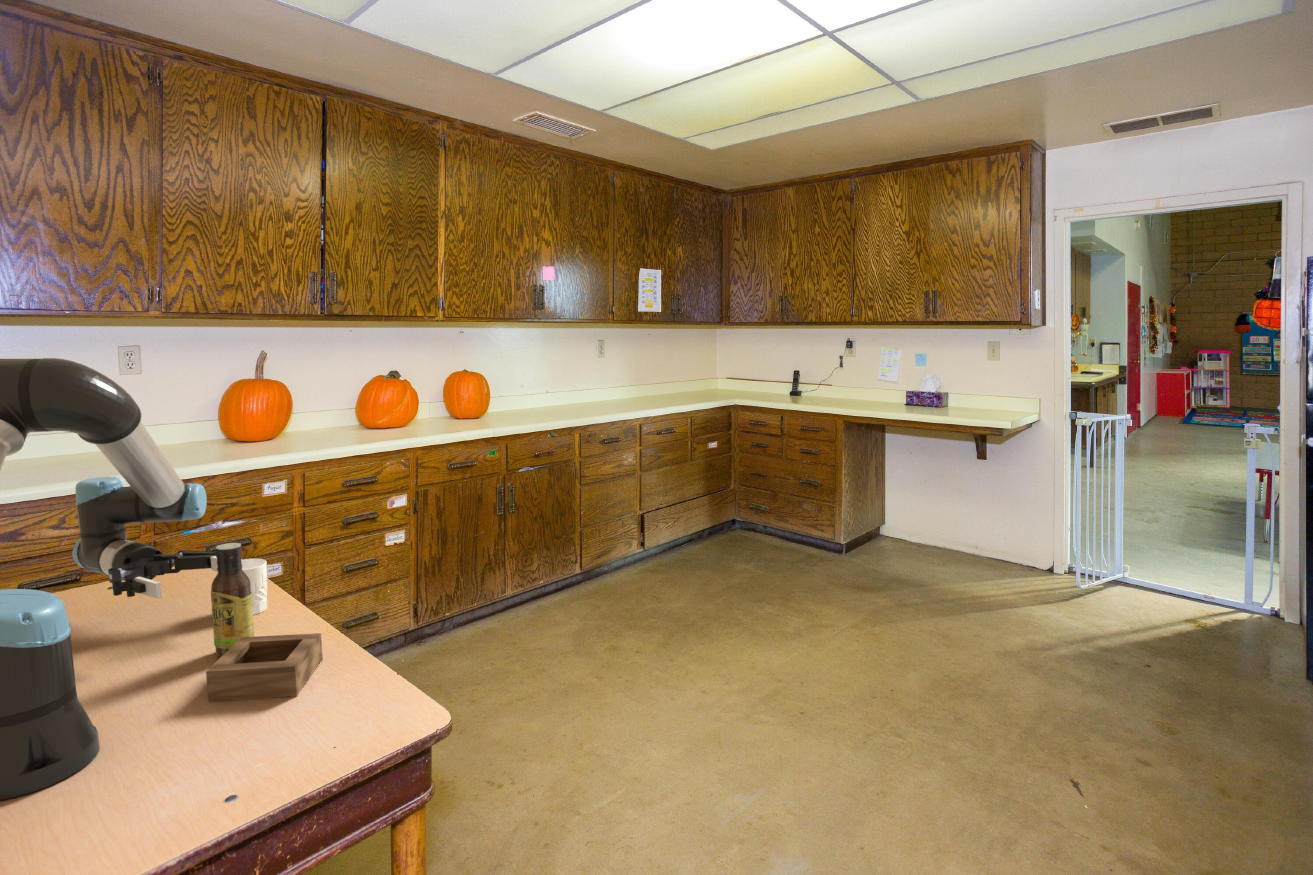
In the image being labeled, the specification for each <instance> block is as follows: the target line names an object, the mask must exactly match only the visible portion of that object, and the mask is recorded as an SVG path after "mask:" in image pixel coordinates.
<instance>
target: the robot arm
mask: <svg viewBox="0 0 1313 875" xmlns="http://www.w3.org/2000/svg"><path fill="white" fill-rule="evenodd" d="M142 417H143V416H142V411H141V408H140V407H139V405H138V404H137V402H136V401H135V399H134V398H133V397H132V396H131V394H129V392H127V390H125V389H124V388H123V387H122V386H121V385H119V384H118V383H117V382H115V381H114V380H112V379H111V378H109V377H108V376H106V375H104V374H103V373H101V372H99V371H98V370H96V369H94V368H92V367H89V366H87V365H85V364H82V363H79V362H76V361H73V360H70V359H64V358H56V357H44V358H0V471H1V470H2V467H3V465H4V462H5V459H6V457H9V456H12V455H14V454H16V453H18V452H19V451H21V450H22V448H23V447H24V444H25V442H26V439H27V436H28V435H29V434H30V433H42V432H43V433H44V432H47V433H48V432H49V433H50V432H68V433H74V434H76V435H78V437H80V439H82V440H83V441H84V442H87V443H88V444H93V445H95V446H96V447H97V448H98V449H99V451H101V452H100V453H102V454H103V455H104V457H105V458H106V459H107V460H108V461H109V463H110V464H111V465H112V466H113V467H114V468H115V470H117V472H118V473H119V474H120V475H121V477H122V478H123V479H124V480H125V481H126V483H127V484H128V485H129V486H124V485H123V483H122V480H121V479H120V477H117V476H100V477H97V476H96V477H92V478H86V479H83V480H80V481H79V482H77V483H76V485H75V503H74V504H75V507H76V514H77V521H78V522H77V523H78V528H79V539H78V540H77V541H76V543H75V544H74V546H73V549H72V553H71V554H72V559H73V562H74V563H75V564H77V566H79V567H80V568H82V569H85V570H86V571H87V572H90V573H95V574H101V575H105V576H108V578H109V579H108V581H109V583H110V584H111V586H112V594H113V596H115V597H117V596H120V595H122V594H123V592H126V596H127V598H132V597H135V596H136V594H140V595H144V596H147V597H150V598H151V597H152V598H155V599H161V598H162V597H163V595H162V588H161V587H162V586H161V582H160V581H156V580H153V579H155V577H157V576H164V575H166V574H167V575H168V574H178V573H180V572H181V571H188V570H189V571H191V570H204V569H211V571H213V572H217V573H218V571H217V567H218V566H217V557H216V554H215V551H198V550H197V551H192V550H191V551H189V550H181V549H180V550H178V551H177V554H165V553H162V551H160V550H159V549H158V548H157V547H156V546H153V545H150V544H146V543H142V542H139V541H138V542H137V541H132V540H128V535H127V534H128V533H127V530H128V529H127V525H129V524H131V525H133V524H145V523H166V522H184V521H192V520H198V519H201V518H202V517H203V516H204V515H205V513H206V510H207V506H208V505H207V504H208V501H207V500H208V499H207V498H208V497H207V492H206V490H205V488H204V486H203V485H202V484H200V483H191V482H188V483H184V481H183V480H182V478H180V476H179V475H178V473H177V472H176V470H175V469H174V467H173V466H172V464H171V463H170V461H169V460H168V459H167V458H166V455H165V454H164V453H163V451H162V449H160V447H159V446H158V444H157V443H156V442H155V441H154V439H153V437H152V436H151V435H150V433H149V431H148V429H147V428H146V427H145V425H144V424H143V423H142ZM173 567H174V568H173ZM71 631H72V627H71V624H70V621H69V618H68V613H67V610H66V605H65V603H64V601H63V600H62V599H61V598H59V597H58V596H56V595H55V594H53V593H51V592H48V591H45V590H44V591H43V590H38V589H30V588H28V589H25V588H9V589H7V588H6V589H5V588H4V589H0V801H3V800H8V799H12V798H16V797H20V796H24V795H27V794H30V793H33V792H36V791H39V790H43V789H45V788H48V787H50V786H52V785H55V784H57V783H58V782H61V781H64V780H65V779H67V778H69V777H71V776H72V775H74V774H76V773H78V772H79V771H81V770H83V769H84V768H85V767H87V766H88V765H89V764H90V763H91V762H92V761H93V760H94V759H95V758H96V757H97V755H98V754H99V752H100V749H101V745H100V738H99V733H98V729H97V728H96V726H95V725H94V724H93V722H92V720H91V718H90V717H89V715H88V713H87V711H86V709H85V708H84V707H83V704H82V703H81V701H80V699H79V698H78V691H77V685H76V674H75V665H74V657H73V647H72V637H71Z"/></svg>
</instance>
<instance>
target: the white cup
mask: <svg viewBox="0 0 1313 875" xmlns="http://www.w3.org/2000/svg"><path fill="white" fill-rule="evenodd" d="M241 564H242V570H243V572H244V573H245V574H246V575H247V576H248V578H249V579H250V586H251V593H252V608H253V616H255V615H259V614H261V613H263V612H264V611H266V609H268V568H267V567H268V565H267V560H266V559H262V558H245V559H241Z"/></svg>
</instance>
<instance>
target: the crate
mask: <svg viewBox="0 0 1313 875" xmlns="http://www.w3.org/2000/svg"><path fill="white" fill-rule="evenodd" d="M322 644H323V643H322V632H318V633H317V632H315V633H300V634H299V633H298V634H295V633H294V634H281V635H279V634H277V635H263V636H261V635H259V636H258V635H257V636H254V637H241V638H240V639H239V640H238V641H237V642H236V643H235V644H234V645H233V646H232V647H231V648H230V649H229V650H228V651H227V652H226V653H225V654H224V655H223V656H222V657H219V659H218V660H216V661H215V662H214V663H213V665H211V666H210V667H209V668H208V669H207V670H206V671H205V673H206V685H207V698H208V702H209V703H210V702H211V703H212V702H225V701H230V702H231V701H244V700H246V701H247V700H258V699H260V700H261V699H274V697H278V698H285V697H284V696H293V697H298V696H299V694H300V693H301V691H302V690H303V689H302V688H304V687H305V686H306V684H307V683H308V682H309V680H310V679H311V677H312V676H313V675H314V673H315V672H316V671H315V670H317V669H318V668H317V667H319V666H320V665H321V664H320V662H321V661H322V660H324V659H323V658H324V657H323V645H322ZM322 662H323V661H322ZM322 662H321V663H322ZM319 664H320V665H319ZM318 665H319V666H318ZM316 668H317V669H316ZM314 671H315V672H314ZM313 672H314V673H313ZM312 674H313V675H312ZM311 675H312V676H311ZM310 676H311V677H310ZM309 678H310V679H309ZM307 681H308V682H307ZM306 682H307V683H306ZM304 685H305V686H304ZM299 692H300V693H299ZM297 695H298V696H297ZM272 697H273V698H272Z"/></svg>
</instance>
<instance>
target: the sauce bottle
mask: <svg viewBox="0 0 1313 875" xmlns="http://www.w3.org/2000/svg"><path fill="white" fill-rule="evenodd" d="M242 548H243V547H242V544H241V543H238V542H227V543H221V544H218V545H217V546H215V548H214V552H215V554H216V557H217V566H218V567H217V571H218V572H217V571H216V572H217V574H216V576H215V577H214V578H213V581H212V582H211V587H210V588H211V589H210V590H211V591H210V599H211V600H210V601H211V612H212V613H211V614H212V615H211V616H212V628H213V629H212V631H213V644H214V646H215V654H216V655H217V656H218V657H219V658H221V657H222V656H223V655H224V654H225V653H226V652H227V651H228V650H229V649H230V648H231V647H232V646H233V645H234V644H235V643H236V642H237V641H238V640H239V639H240V638H241V637H255V630H254V615H253V608H252V593H251V586H250V579H249V578H248V576H247V575H246V574H245V573H244V572H243V570H242V564H241V560H242V552H243V549H242Z"/></svg>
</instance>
